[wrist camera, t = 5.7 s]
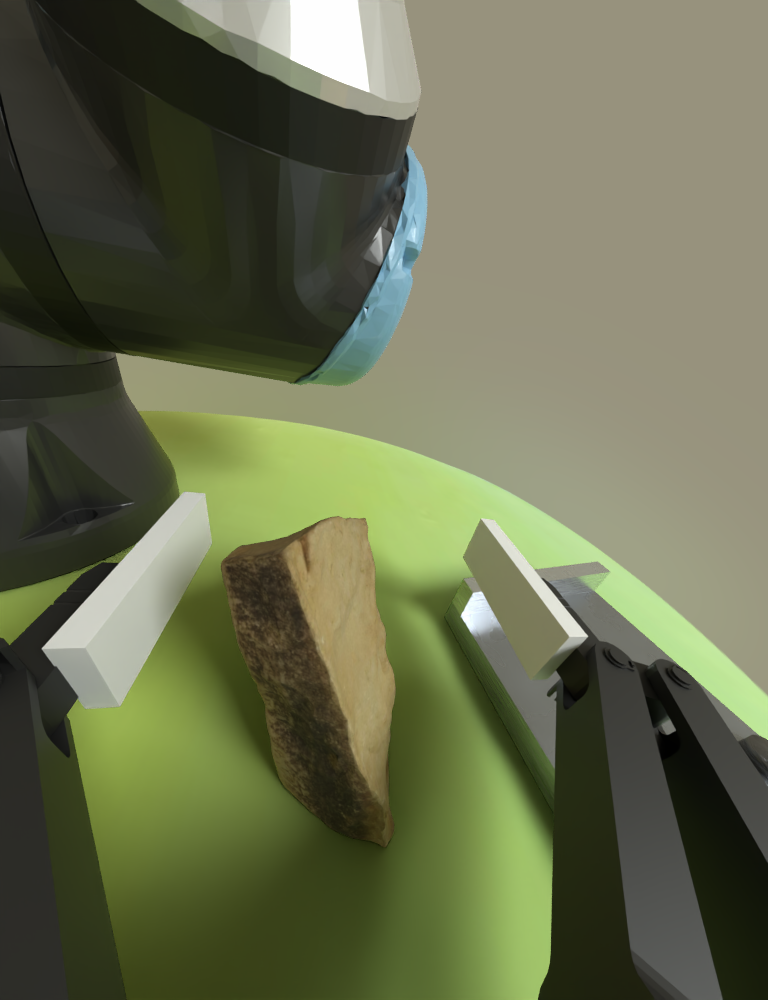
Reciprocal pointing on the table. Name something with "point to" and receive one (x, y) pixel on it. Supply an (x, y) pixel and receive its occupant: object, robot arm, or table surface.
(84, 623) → the robot arm
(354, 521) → the rock
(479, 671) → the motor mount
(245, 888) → the table surface
